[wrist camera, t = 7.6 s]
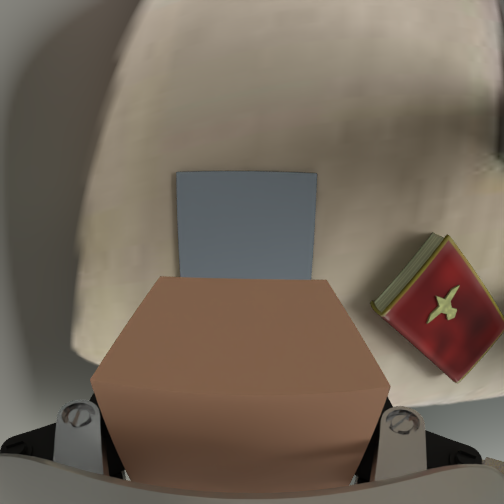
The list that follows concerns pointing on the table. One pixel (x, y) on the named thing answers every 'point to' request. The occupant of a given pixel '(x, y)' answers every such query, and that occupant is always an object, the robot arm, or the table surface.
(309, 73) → the table surface
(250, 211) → the slate mat
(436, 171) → the table surface
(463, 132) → the table surface
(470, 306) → the hardcover book
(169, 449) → the terracotta cube
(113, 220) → the table surface
